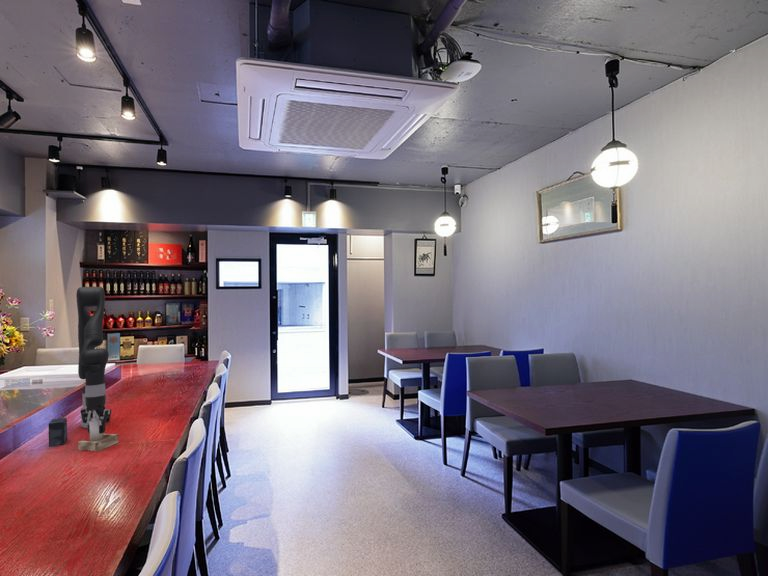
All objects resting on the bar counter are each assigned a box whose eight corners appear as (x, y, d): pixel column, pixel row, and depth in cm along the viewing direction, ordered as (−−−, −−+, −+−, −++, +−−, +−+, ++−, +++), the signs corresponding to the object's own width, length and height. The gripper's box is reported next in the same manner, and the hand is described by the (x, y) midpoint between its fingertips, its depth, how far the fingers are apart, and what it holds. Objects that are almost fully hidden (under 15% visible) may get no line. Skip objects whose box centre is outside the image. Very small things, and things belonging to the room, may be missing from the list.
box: (64, 445, 198) (63, 421, 198) (48, 447, 196) (47, 423, 196) (67, 439, 205) (67, 416, 205) (52, 441, 203) (52, 418, 203)
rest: (78, 450, 191) (78, 441, 191) (99, 441, 202) (98, 433, 202) (98, 451, 189) (98, 442, 189) (118, 442, 200) (118, 434, 200)
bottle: (86, 442, 194) (86, 410, 194) (96, 438, 199) (95, 407, 199) (96, 442, 193) (96, 410, 193) (106, 438, 198) (105, 407, 198)
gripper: (74, 396, 193) (75, 435, 193) (102, 396, 191) (103, 436, 191) (88, 392, 201) (89, 429, 201) (116, 392, 198) (117, 430, 198)
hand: (96, 432), depth 196 cm, fingers closed on bottle, 5 cm apart
